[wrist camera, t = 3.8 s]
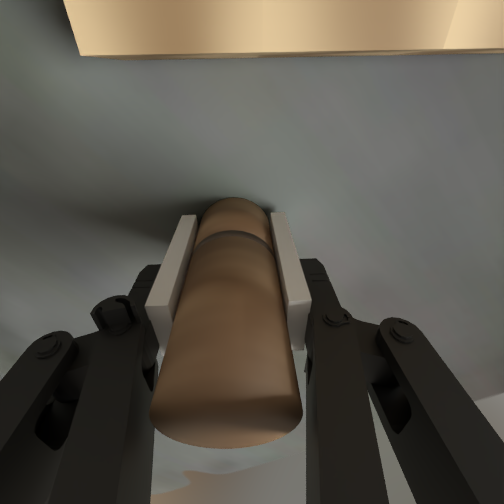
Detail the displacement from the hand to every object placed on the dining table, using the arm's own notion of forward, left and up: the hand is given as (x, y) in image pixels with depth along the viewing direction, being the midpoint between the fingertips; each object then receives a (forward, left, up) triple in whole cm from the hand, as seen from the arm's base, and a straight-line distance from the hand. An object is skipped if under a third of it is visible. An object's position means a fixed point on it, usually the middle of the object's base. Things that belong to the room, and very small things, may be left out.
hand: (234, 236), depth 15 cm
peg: (0, 0, -1) cm, 1 cm away
